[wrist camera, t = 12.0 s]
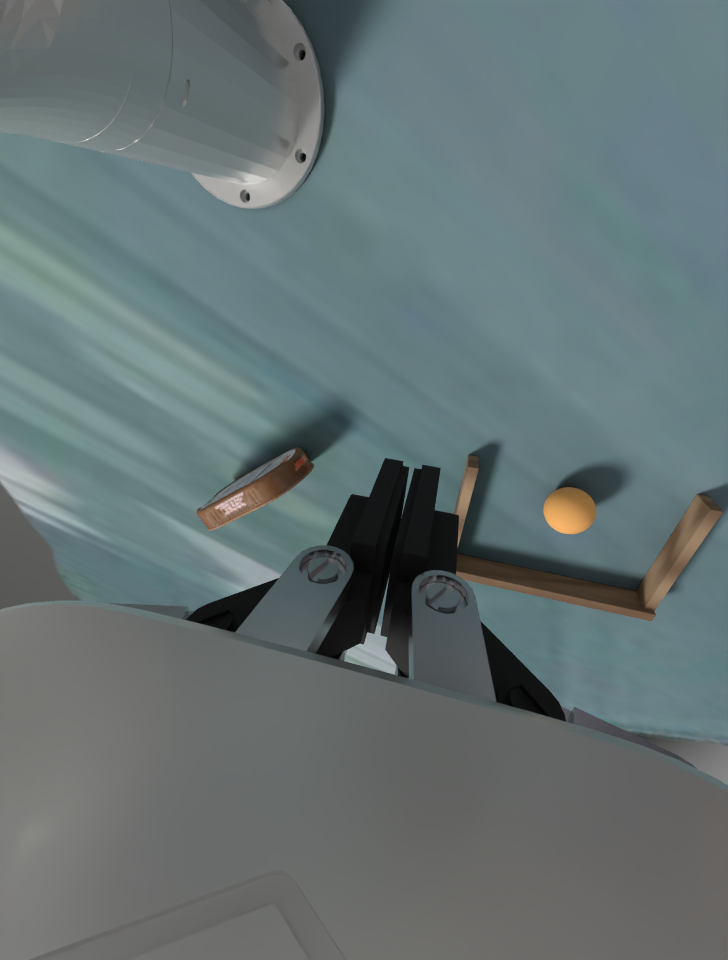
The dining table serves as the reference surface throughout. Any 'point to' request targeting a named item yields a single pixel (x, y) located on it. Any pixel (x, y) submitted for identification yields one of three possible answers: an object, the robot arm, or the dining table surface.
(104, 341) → the dining table surface
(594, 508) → the ball
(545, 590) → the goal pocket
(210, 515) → the tin
